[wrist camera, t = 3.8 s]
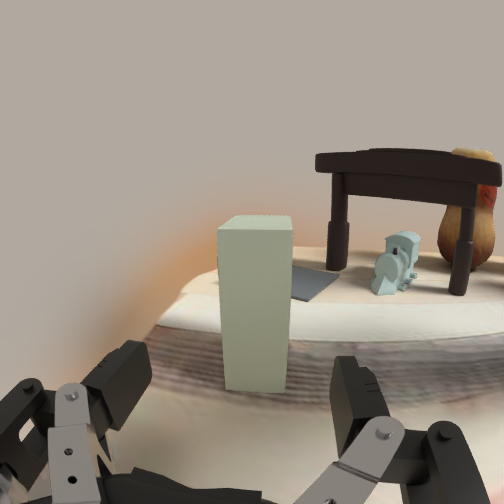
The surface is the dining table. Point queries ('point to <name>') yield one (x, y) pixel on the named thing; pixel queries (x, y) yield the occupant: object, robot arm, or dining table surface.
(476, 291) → the dining table surface
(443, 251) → the butternut squash
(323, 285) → the shelf mat
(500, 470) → the dining table surface
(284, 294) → the carton
